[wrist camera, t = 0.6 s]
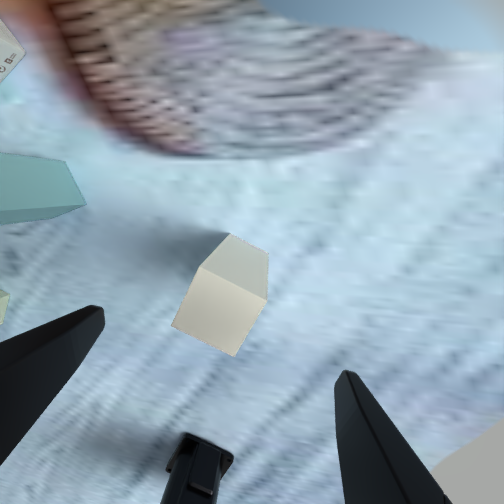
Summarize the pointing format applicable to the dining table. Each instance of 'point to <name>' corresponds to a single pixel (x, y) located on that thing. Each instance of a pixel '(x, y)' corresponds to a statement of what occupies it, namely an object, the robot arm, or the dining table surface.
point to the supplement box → (8, 51)
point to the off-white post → (225, 295)
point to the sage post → (3, 304)
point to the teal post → (35, 189)
